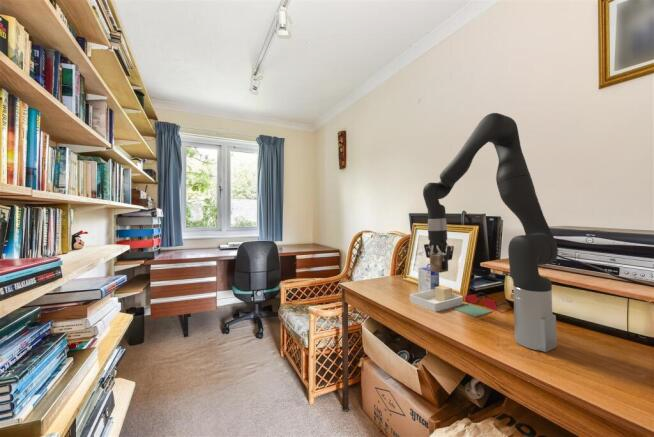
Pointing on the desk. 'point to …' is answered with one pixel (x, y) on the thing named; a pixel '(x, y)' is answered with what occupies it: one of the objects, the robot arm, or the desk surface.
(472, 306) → the felt mat
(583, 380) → the desk surface
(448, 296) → the kraft block
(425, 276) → the ink cartridge box
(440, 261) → the labelled block
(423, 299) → the bin
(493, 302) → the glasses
